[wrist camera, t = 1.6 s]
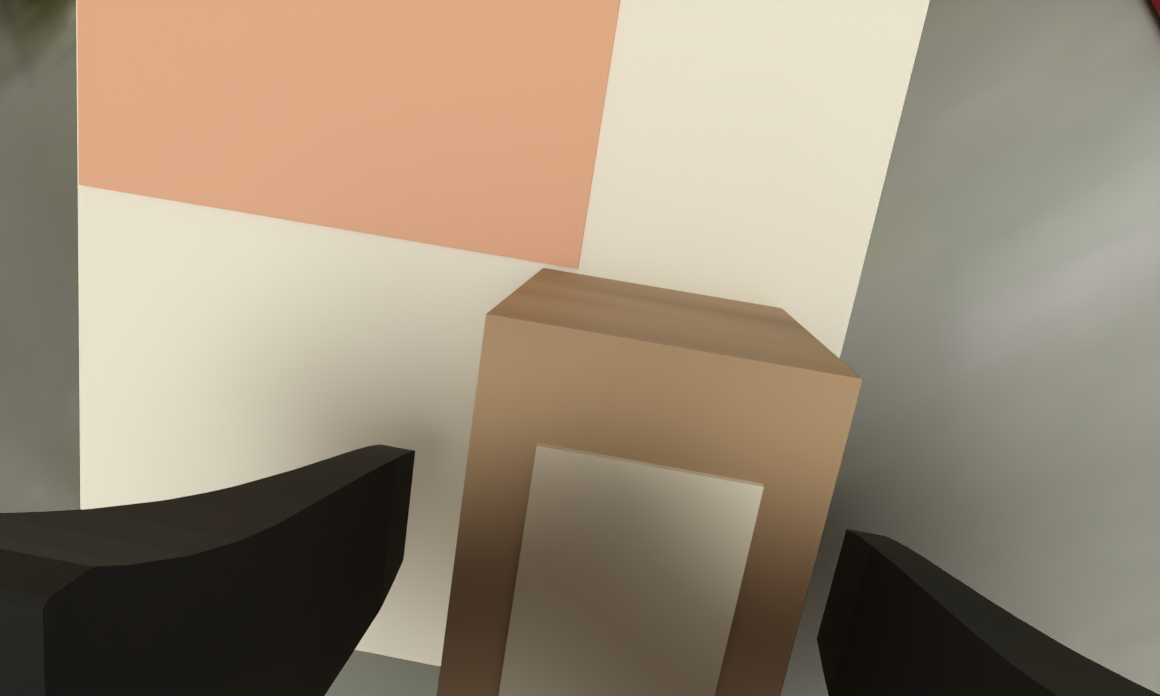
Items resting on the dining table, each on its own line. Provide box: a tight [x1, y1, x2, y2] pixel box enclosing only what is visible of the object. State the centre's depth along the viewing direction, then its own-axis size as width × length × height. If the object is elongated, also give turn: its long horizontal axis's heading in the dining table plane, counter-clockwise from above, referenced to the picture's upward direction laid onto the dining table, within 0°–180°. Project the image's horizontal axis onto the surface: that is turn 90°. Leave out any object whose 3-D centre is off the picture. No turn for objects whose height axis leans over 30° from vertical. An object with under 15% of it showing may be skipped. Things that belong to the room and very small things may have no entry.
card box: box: [437, 268, 863, 696], centre depth 12 cm, size 8×4×5 cm, turn 171°
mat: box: [76, 0, 930, 667], centre depth 14 cm, size 17×15×1 cm
